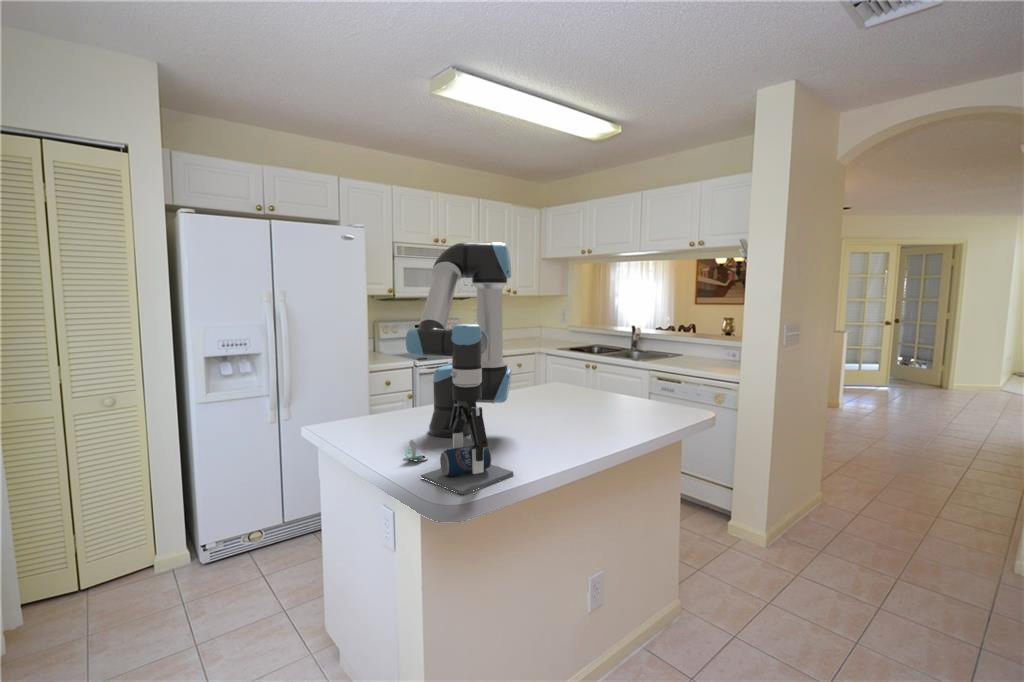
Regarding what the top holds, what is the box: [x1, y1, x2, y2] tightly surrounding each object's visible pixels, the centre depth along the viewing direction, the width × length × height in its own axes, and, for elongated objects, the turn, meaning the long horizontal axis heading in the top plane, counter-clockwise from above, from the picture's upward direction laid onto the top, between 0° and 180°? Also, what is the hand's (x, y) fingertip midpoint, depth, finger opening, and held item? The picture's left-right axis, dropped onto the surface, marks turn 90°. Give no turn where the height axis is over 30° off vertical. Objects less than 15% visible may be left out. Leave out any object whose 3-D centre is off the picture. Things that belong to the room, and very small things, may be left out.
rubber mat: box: [420, 463, 514, 496], centre depth 129 cm, size 16×18×1 cm
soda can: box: [439, 445, 492, 477], centre depth 128 cm, size 7×7×12 cm
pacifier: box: [404, 438, 429, 462], centre depth 143 cm, size 7×6×6 cm
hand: (467, 464), depth 129 cm, fingers open, 13 cm apart
